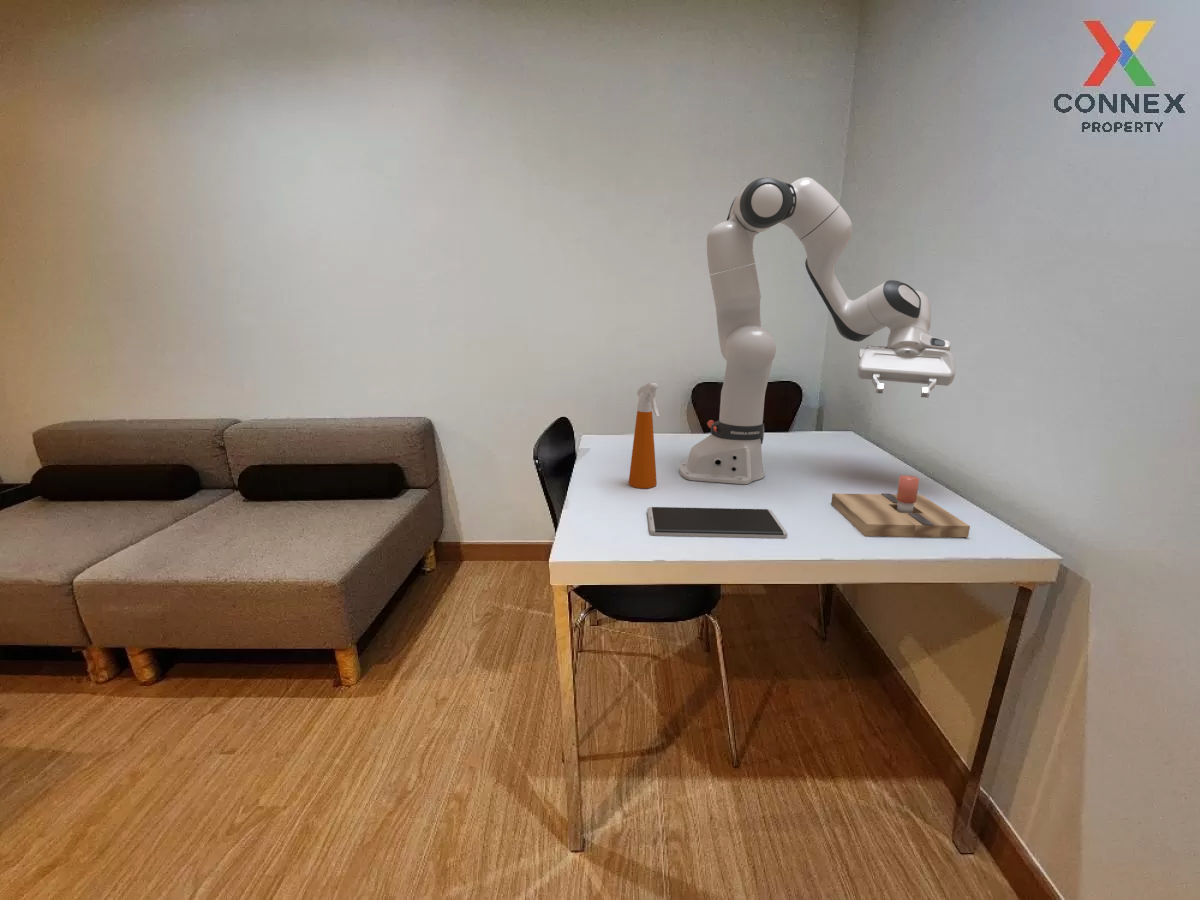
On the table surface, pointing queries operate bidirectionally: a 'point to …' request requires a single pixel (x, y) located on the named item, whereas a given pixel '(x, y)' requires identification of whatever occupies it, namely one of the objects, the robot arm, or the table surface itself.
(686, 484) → the table surface
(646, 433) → the spray bottle
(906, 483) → the red white cylinder
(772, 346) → the robot arm
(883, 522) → the board
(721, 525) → the smartphone
